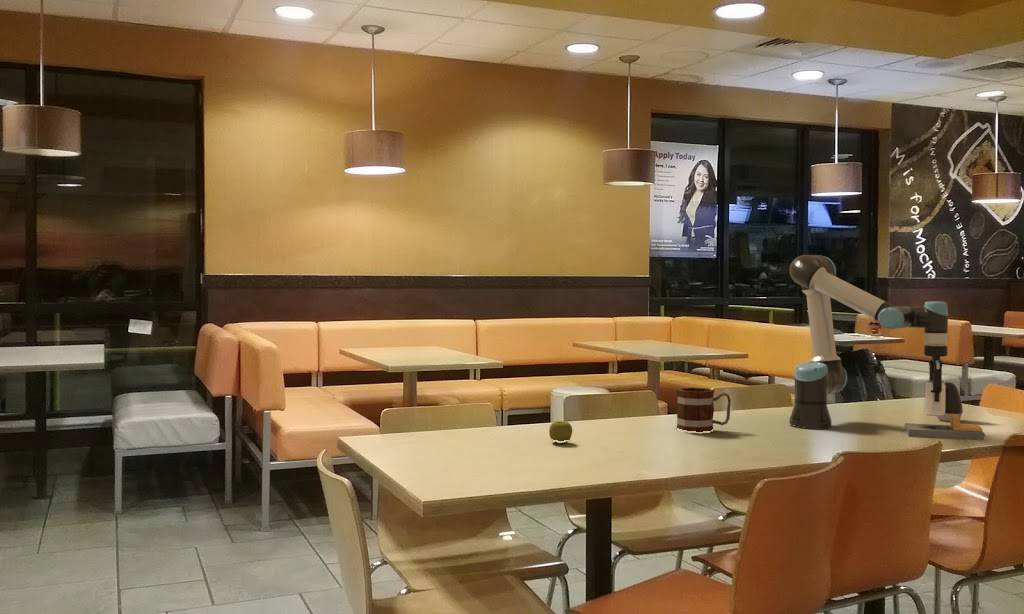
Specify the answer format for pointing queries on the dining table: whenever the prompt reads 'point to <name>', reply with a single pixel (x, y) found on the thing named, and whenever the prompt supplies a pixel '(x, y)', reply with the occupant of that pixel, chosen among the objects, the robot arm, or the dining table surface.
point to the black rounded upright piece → (951, 402)
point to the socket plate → (940, 432)
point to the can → (929, 400)
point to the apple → (560, 431)
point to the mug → (698, 409)
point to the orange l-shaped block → (962, 427)
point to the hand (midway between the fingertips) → (934, 409)
